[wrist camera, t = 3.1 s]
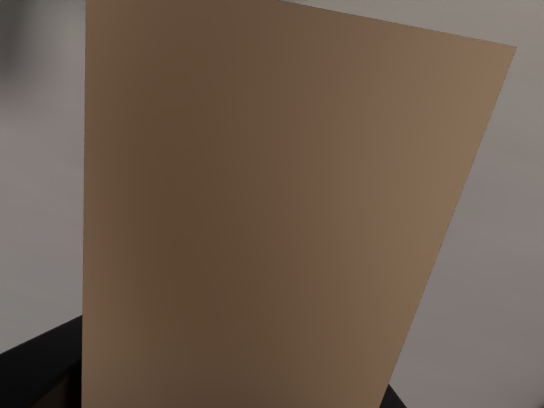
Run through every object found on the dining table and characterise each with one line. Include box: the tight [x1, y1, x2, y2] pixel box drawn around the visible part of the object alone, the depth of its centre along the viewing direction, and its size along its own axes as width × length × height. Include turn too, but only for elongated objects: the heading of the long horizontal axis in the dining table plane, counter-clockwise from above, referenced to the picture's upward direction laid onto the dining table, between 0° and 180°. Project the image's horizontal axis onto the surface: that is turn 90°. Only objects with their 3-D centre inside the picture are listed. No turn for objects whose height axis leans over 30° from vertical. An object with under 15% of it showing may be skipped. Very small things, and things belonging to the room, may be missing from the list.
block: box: [82, 0, 517, 408], centre depth 8 cm, size 4×12×4 cm, turn 170°
